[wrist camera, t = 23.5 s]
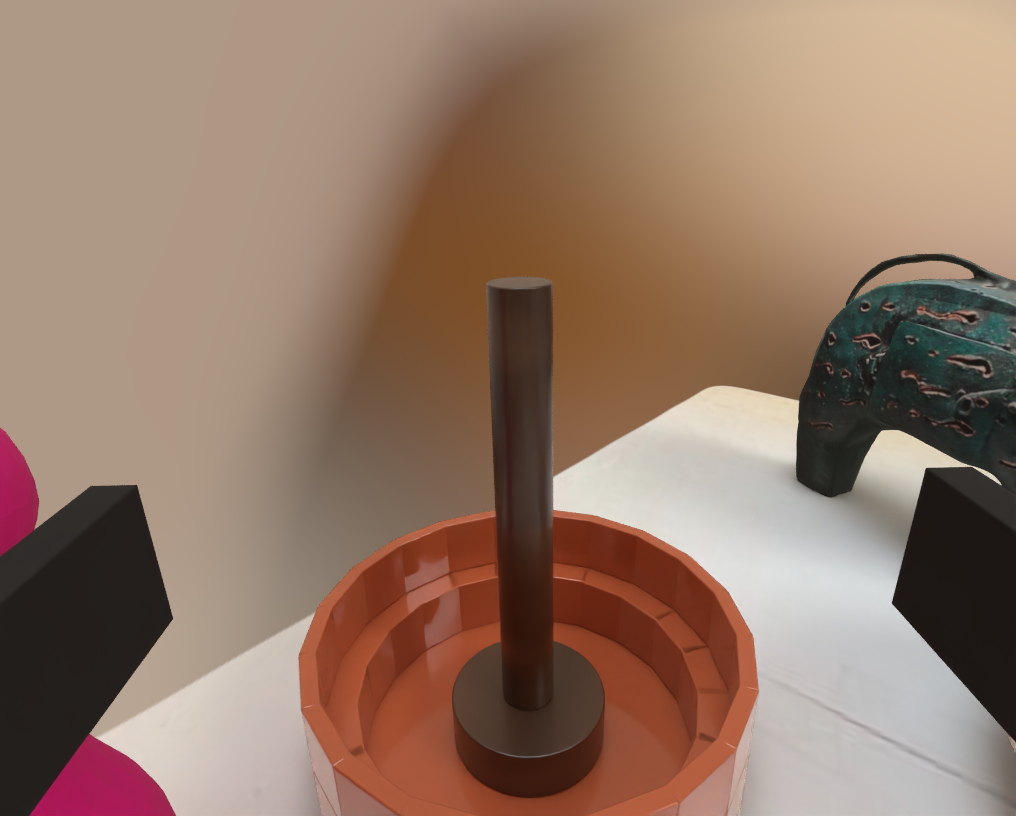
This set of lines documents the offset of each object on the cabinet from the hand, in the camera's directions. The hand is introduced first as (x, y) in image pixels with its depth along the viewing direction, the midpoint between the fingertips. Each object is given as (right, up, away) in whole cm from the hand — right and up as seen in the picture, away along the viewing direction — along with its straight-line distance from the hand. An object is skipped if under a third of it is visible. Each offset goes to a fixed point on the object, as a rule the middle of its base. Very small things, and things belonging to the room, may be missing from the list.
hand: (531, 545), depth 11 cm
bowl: (0, -11, +15) cm, 18 cm away
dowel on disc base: (0, -11, +14) cm, 18 cm away
